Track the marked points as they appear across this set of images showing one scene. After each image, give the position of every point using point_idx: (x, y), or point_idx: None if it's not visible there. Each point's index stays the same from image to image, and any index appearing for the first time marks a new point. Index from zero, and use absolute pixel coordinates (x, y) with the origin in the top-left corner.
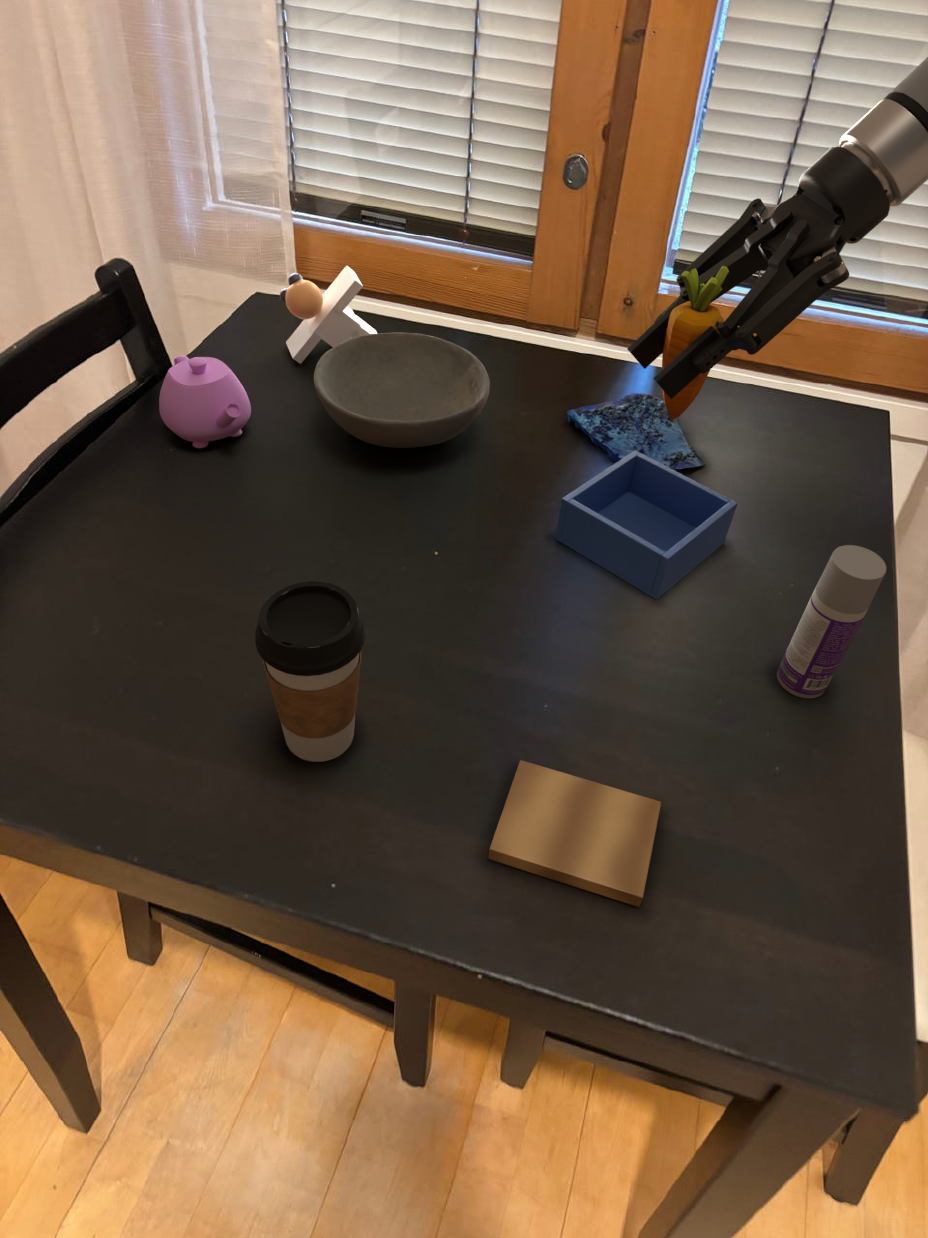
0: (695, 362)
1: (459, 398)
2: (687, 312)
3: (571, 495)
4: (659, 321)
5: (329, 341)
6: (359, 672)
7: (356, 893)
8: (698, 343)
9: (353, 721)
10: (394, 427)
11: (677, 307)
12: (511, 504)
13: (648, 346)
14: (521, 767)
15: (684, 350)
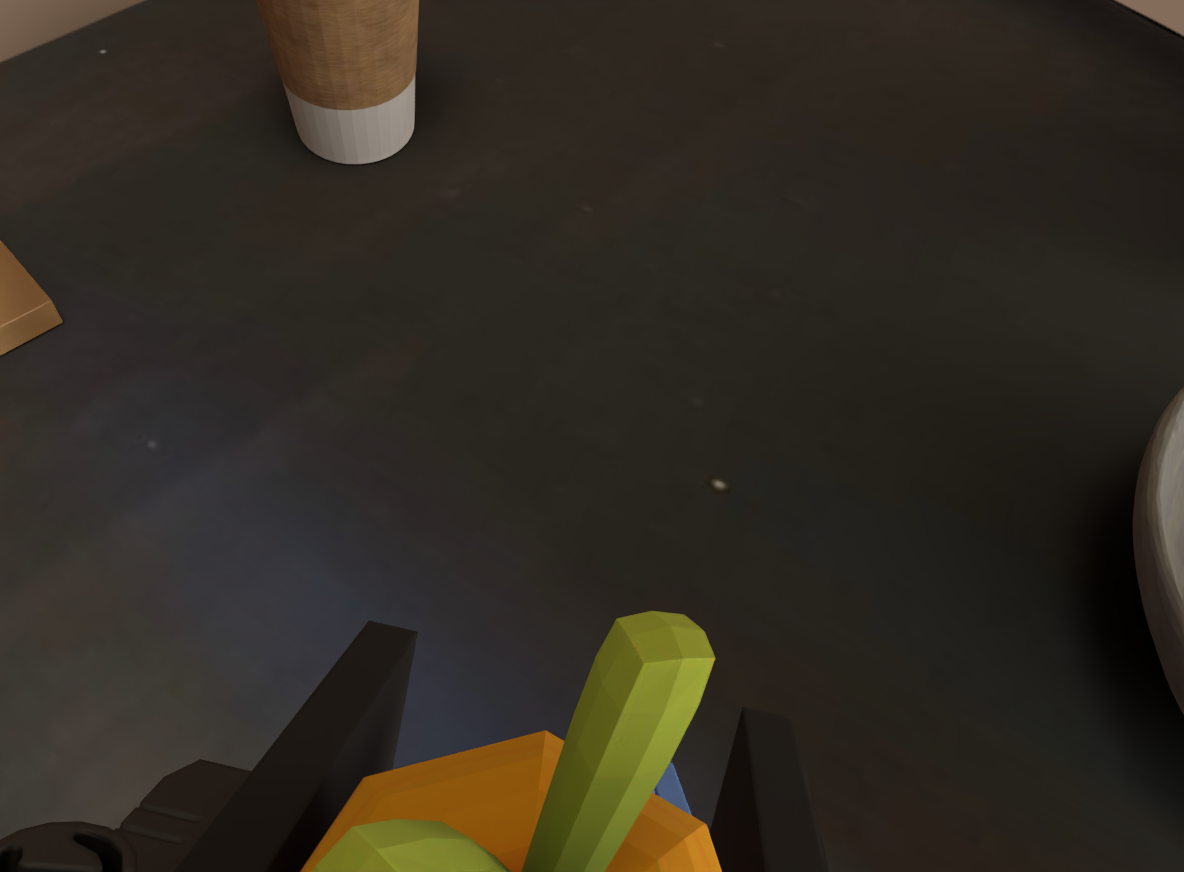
0: (211, 766)
1: None
2: (501, 796)
3: (673, 802)
4: (797, 862)
5: None
6: (273, 5)
7: (69, 65)
8: (250, 791)
9: (299, 108)
10: (1147, 449)
11: (668, 827)
12: (853, 775)
13: (733, 825)
14: (36, 293)
15: (341, 749)
